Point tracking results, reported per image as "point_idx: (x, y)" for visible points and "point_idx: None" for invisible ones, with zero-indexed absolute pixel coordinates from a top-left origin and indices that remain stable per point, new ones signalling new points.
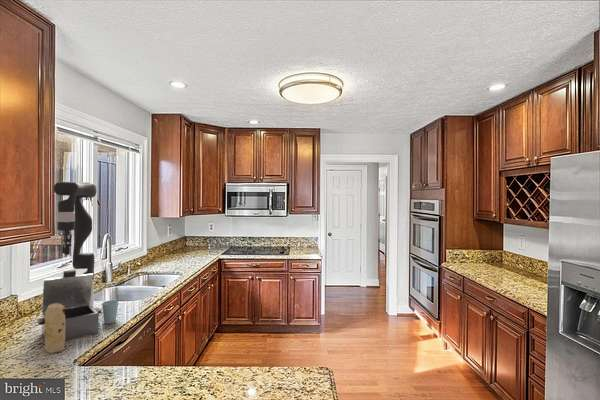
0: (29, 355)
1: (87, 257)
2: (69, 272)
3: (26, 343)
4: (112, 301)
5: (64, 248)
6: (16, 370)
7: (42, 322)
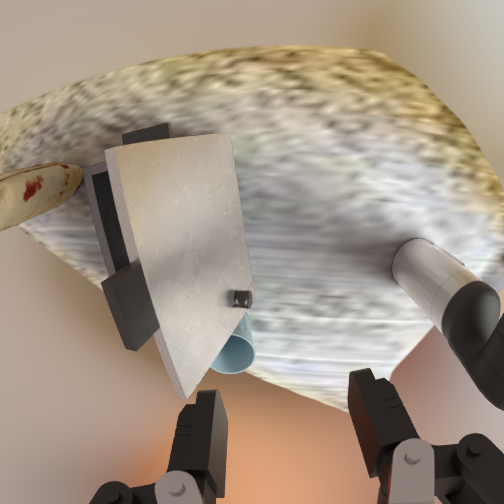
0: (67, 128)
1: (499, 390)
2: (115, 312)
3: (156, 104)
4: (251, 359)
5: (200, 457)
6: (13, 123)
7: (124, 144)
